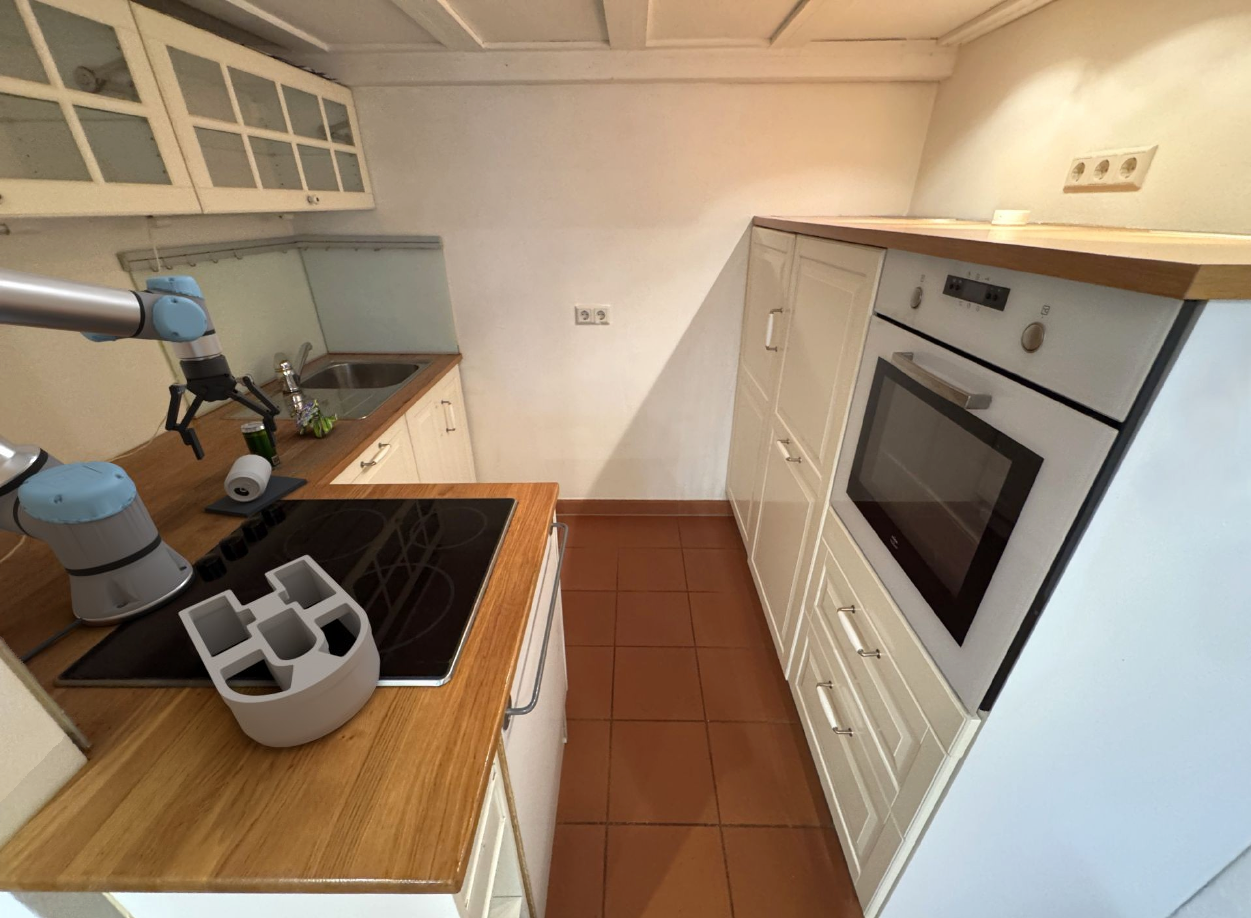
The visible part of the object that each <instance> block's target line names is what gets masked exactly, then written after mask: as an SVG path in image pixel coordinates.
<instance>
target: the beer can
mask: <svg viewBox="0 0 1251 918" xmlns="http://www.w3.org/2000/svg"><path fill="white" fill-rule="evenodd" d="M240 429H241V430H240V431H241V434H242V435H243V436H242V437H243V439H244V442H245V444H246V447H247V449H248V451H249V453H250V454H249V455H257V456H261V457H263V458H264V459H266V460H267V461H268V462H269V463H270V465H271V471H273V470H276V469H277V468H279V467H280V466H281V460H280V457H279V454H278V452H277V450H276V447H273V448H272V447H271V444H270V441H269V438H268V436H267V433H266V430H265V427H264V425H263V422H262V420H254V421H250V422H246V423H244V424H242V425H241V426H240Z"/></svg>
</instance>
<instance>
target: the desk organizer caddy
mask: <svg viewBox="0 0 1251 918" xmlns="http://www.w3.org/2000/svg"><path fill="white" fill-rule="evenodd" d="M264 577H265V578H266V580H267V582H268V585H269V586H270V587H271V588H272V592H270V593H268V594H266V595H264V596H262V597H260V598H257V599H256V600H254V601H252V602H249V603H247V604H245V605H242V604H241V602H240V601H239V600H238V598H237V596H236V595H235V594H234V592H233V590H231V589H227V590H225V591H222V592H220V593H218V594H216V595H214V596H211V597H209V598H207V599H205V600H202V601H200V602H198V603H195V604H194V605H191V606H189V607H186V608H184V609H182V610H180V611H179V612H178V616H179V617H180V619H181V621H182V623H183V626H184V627H185V629H186V631H187V634H188V635H189V638H190V639H191V641H192V643H193V645H194V647H195V650H196V651H197V652H198V654H199V656H200V659H201V661H202V662H203V664H204V666H205V669H206V670H207V672H208V674H209V676H210V678H211V680H212V682H213V684H214V685H215V688H216V690H217V691H218V693H219V695H220V697H221V699H222V700H223V701H224V703H225V704H226V705H227V706H228V707H229V709H230V710H231V712H232V714H233V716H234V717H235V720H236V721H237V723H238V725H239V726H240V728H241V730H242V731H243V733H244V734H245V735H247V736H248V737H249V738H251V739H252V740H254V741H255V742H257V743H258V744H261V745H263V746H267V747H271V748H290V747H295V746H296V747H297V746H300V745H304V744H307V743H310V742H312V741H315V740H316V741H317V739H321V738H323V737H325V736H326V735H329V734H330V733H332V732H335V730H337V729H339V728H341V726H343V725H344V724H346V723H347V722H348V721H349V720H351V719H352V718H353V717H354V716H355V715H357V714H358V713H359V711H360V710H361V709H363V707H364V706H365V705H366V704H367V702H368V701H369V700H370V698H371V697H372V695H373V694H374V692H375V690H376V688H377V686H378V681H379V680H380V679H379V678H380V667H381V659H380V653H379V651H378V648H377V645H376V643H375V639H374V636H373V633H372V631H373V630H372V627H371V623H370V620H369V618H368V615H367V613H366V611H365V610H364V608H362V606H360V604H359V603H357V602H356V600H355V599H353V598H352V596H350V595H349V594H348V593H347V592H346V591H345V589H343V588H342V586H340V585H339V584H338V583H337V582H336V581H335V580H334V579H333V578H332V577H331V576H330V575H329V574H328V573H327V572H326V571H325V570H324V569H323V568H322V567H321V566H320V565H319V564H318V563H317V562H316V561H315V560H314V559H313V558H312V557H311V556H310V555H309V554H305V555H303V556H301V557H298V558H296V559H293V560H291V561H289V562H287V563H285V564H283V565H280V566H278V567H276V568H274V569H271V570H269V571H267V572H265V573H264ZM310 606H311V607H310ZM308 607H309V608H308ZM336 619H338V621H339V622H340V623H341V624H342V625H343V626H344V627H345V628H346V629H347V630H348V632H349V633H351V635H352V636H353V637H354V638H355V639H356V640H355V642H354V643H353V645H352V646H351V648H350V649H349V650H348V651H347V652H346V653H345V654H344V655H343V656H338V655H334V654H331V652H330V650H329V647H330V646H329V643H328V641H327V638H326V636H325V632H324V631H323V630H322V629H321V628H323V627H324V626H326V625H328V624H330V623H332V622H333V621H335V620H336ZM242 641H243V642H242ZM236 644H237V645H236ZM234 645H235V646H234ZM232 646H233V647H232ZM226 649H227V650H226ZM224 650H225V651H224ZM222 651H223V652H222ZM220 652H221V653H220ZM218 653H219V654H218ZM262 660H264V663H265V665H266V666H267V669H268V671H269V673H270V674H271V676H272V677H273V679H274V681H275V682H276V683H277V685H278V686H279V688H280V690H282V691H280V692H276V693H272V694H264V695H249V694H248V695H247V694H242V693H238V692H236V691H234V690H232V689H231V688H230V687H229V686H228V685H227V682H226V681H227V680H228V679H230V678H231V677H233V676H234V675H237V674H238V673H241V672H242V671H244V670H246V669H247V668H249V667H252V666H253V665H255V664H257V663H258V662H261V661H262Z"/></svg>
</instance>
